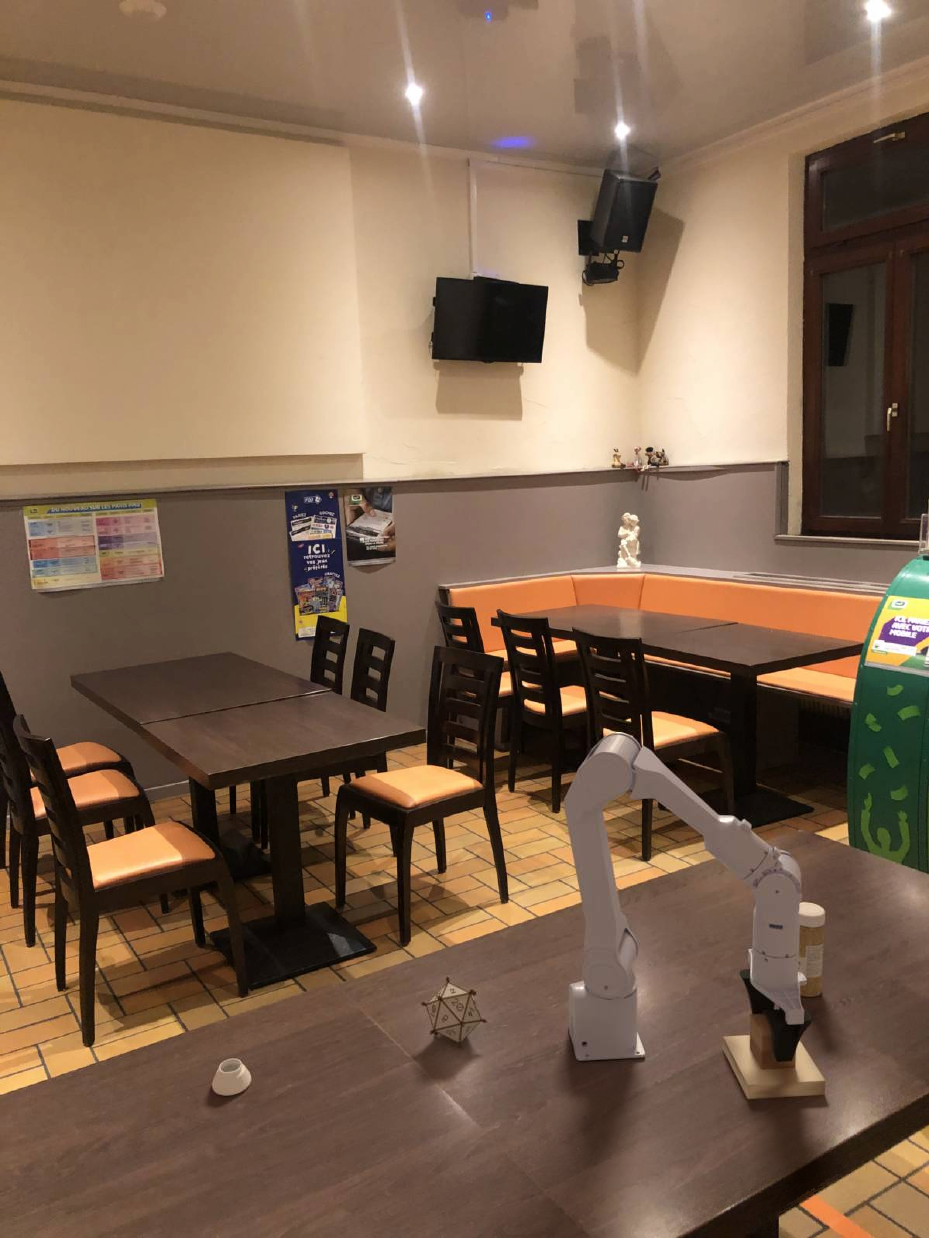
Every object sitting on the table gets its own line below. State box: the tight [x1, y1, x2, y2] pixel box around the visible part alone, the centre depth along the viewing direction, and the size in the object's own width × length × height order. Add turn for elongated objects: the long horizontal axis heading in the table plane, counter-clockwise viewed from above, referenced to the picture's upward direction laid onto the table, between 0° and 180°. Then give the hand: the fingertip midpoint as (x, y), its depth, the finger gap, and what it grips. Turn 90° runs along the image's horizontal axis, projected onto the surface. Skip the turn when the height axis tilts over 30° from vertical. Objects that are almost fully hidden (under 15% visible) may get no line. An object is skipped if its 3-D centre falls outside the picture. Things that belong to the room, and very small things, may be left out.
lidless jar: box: [211, 1058, 252, 1096], centre depth 124 cm, size 5×3×5 cm
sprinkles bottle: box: [798, 901, 826, 998], centre depth 140 cm, size 5×5×14 cm
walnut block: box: [749, 1013, 796, 1070], centre depth 123 cm, size 4×4×5 cm
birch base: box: [722, 1034, 826, 1100], centre depth 123 cm, size 10×10×2 cm
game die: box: [420, 975, 488, 1051], centre depth 132 cm, size 9×8×10 cm
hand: (772, 1041), depth 123 cm, fingers open, 7 cm apart
